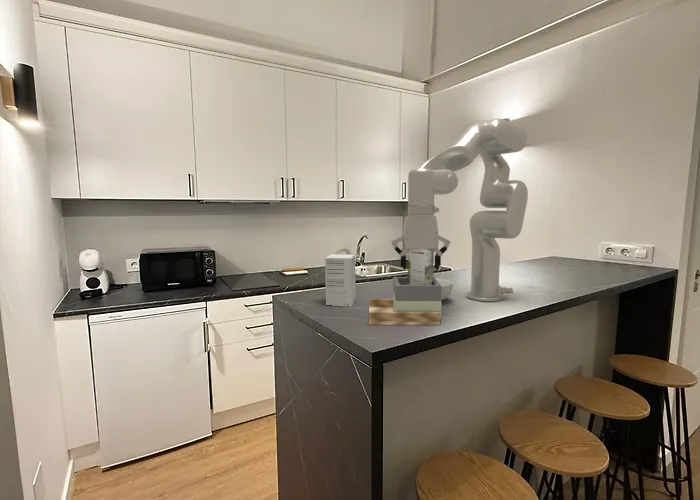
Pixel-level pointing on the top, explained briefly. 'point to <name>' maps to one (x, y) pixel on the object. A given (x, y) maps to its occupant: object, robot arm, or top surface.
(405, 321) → the bay
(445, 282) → the cereal bowl
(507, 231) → the robot arm
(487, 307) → the top surface
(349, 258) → the supplement box
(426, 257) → the syrup box
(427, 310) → the crate
